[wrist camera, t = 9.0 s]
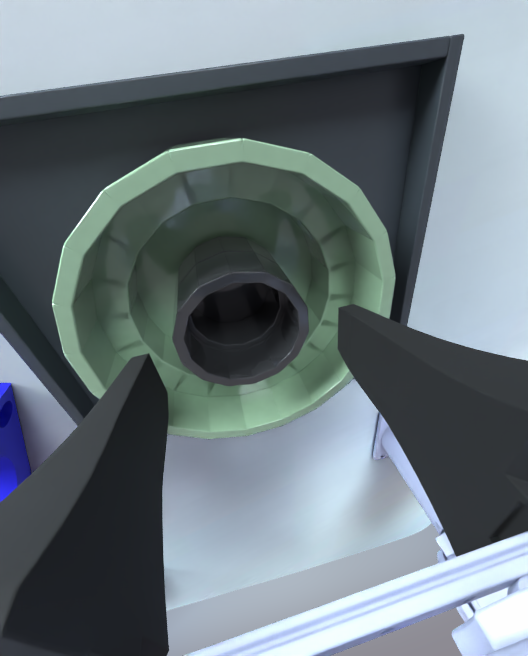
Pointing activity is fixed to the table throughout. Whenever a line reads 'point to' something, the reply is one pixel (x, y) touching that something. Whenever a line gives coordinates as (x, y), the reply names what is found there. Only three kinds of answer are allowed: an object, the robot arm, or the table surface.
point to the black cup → (236, 313)
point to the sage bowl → (197, 228)
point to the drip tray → (204, 124)
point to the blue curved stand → (11, 444)
